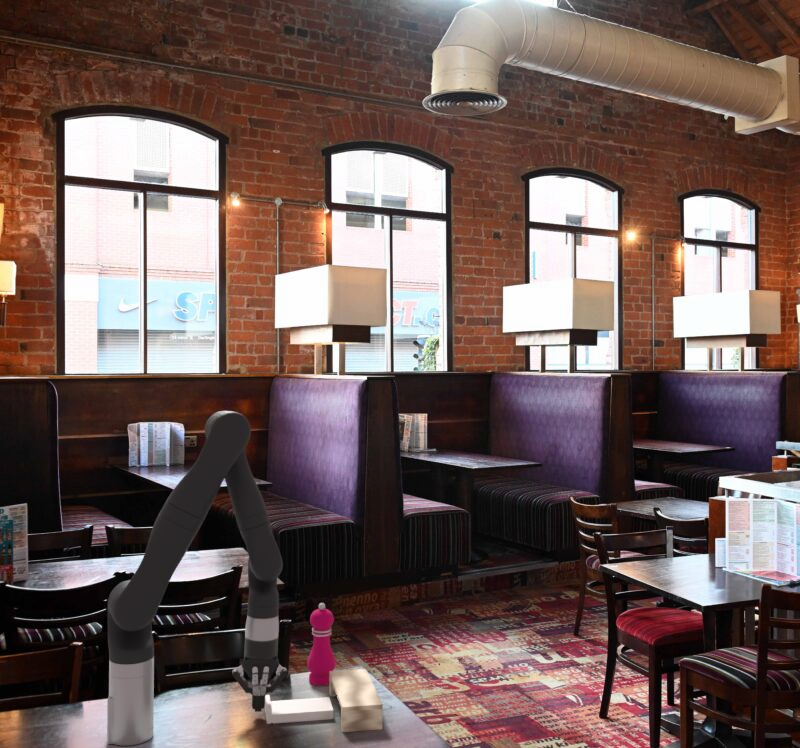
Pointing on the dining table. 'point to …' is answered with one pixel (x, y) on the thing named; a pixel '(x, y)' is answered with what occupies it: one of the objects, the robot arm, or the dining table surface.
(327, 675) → the pepper mill
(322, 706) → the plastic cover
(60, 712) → the dining table surface
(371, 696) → the overhang shelf
